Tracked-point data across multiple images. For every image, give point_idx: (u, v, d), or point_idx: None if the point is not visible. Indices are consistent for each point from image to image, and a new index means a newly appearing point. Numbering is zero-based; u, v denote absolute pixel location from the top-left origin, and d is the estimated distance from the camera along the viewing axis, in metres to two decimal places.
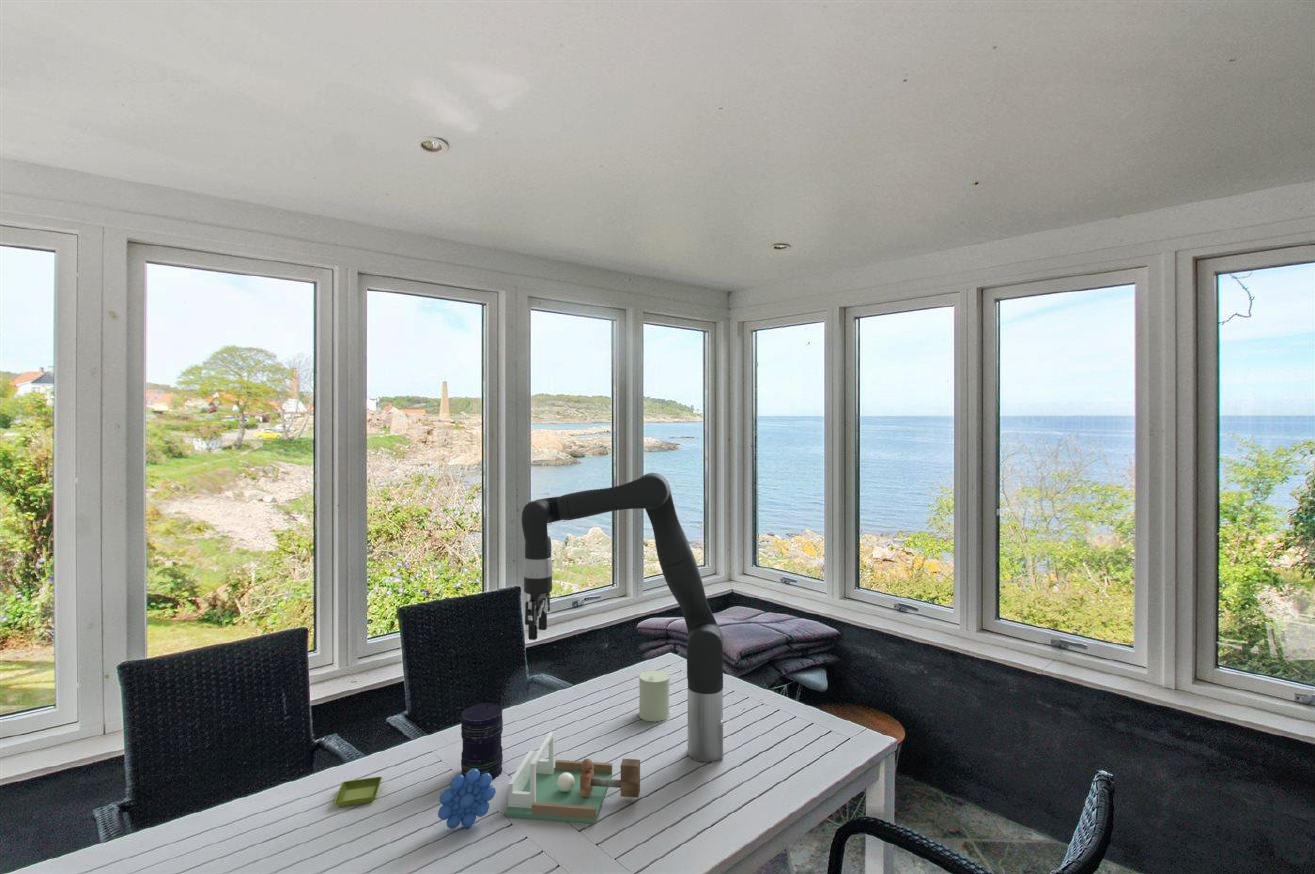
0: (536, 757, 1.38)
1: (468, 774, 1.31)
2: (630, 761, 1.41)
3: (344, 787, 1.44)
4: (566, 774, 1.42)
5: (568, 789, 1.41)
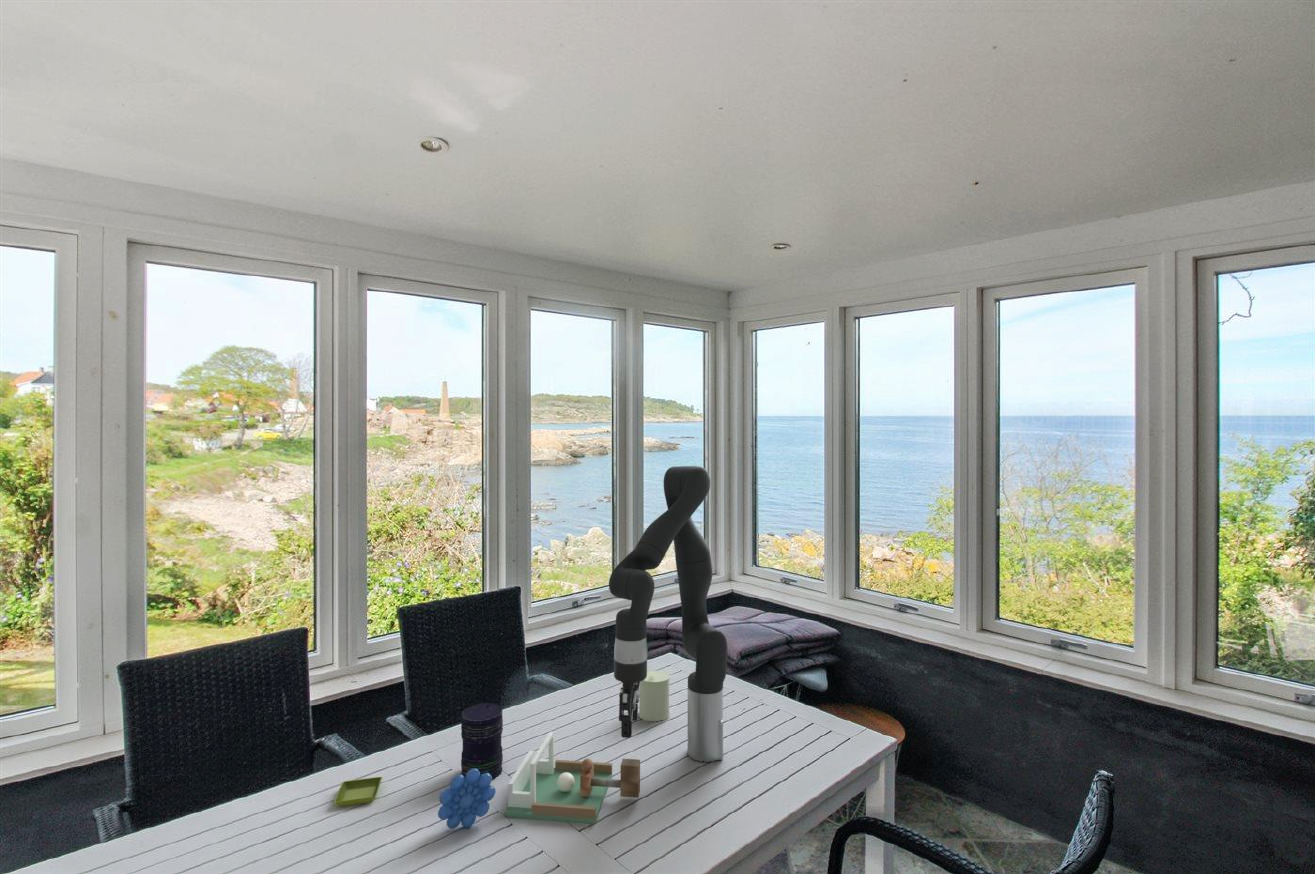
0: (536, 757, 1.38)
1: (468, 774, 1.31)
2: (630, 761, 1.41)
3: (344, 786, 1.44)
4: (566, 774, 1.42)
5: (568, 789, 1.41)
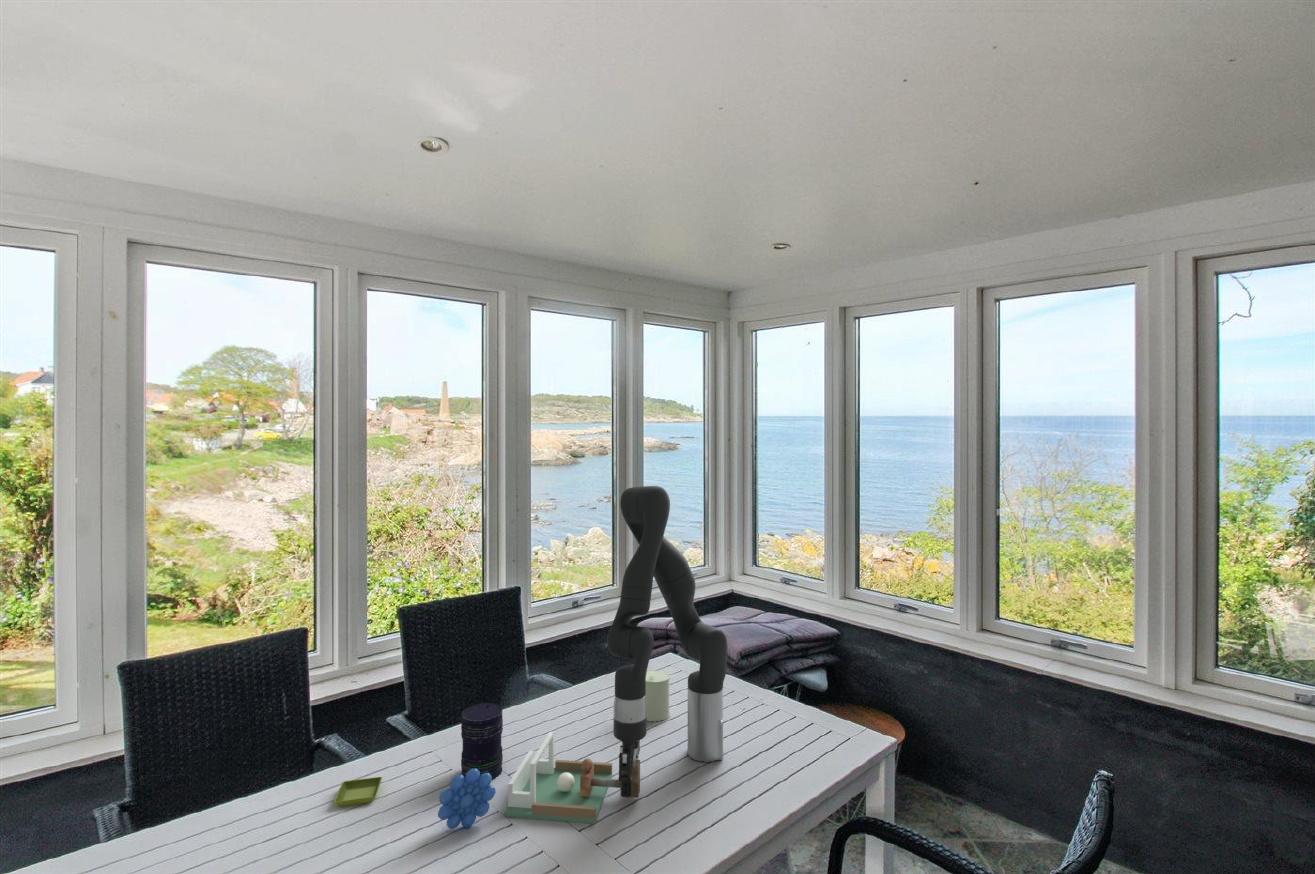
0: (536, 757, 1.38)
1: (468, 774, 1.31)
2: None
3: (344, 786, 1.44)
4: (566, 774, 1.42)
5: (568, 789, 1.41)
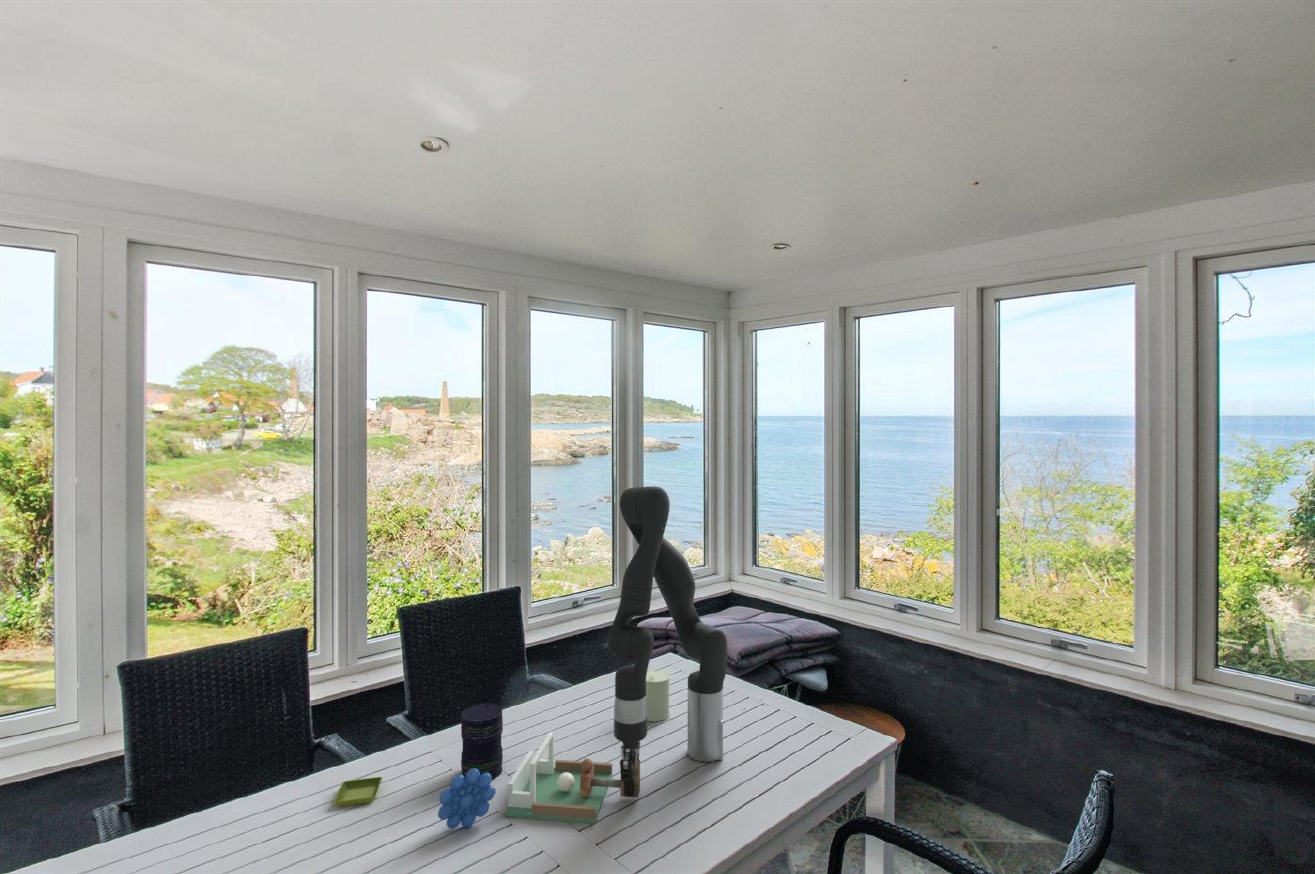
0: (536, 757, 1.38)
1: (468, 774, 1.31)
2: None
3: (344, 786, 1.44)
4: (566, 774, 1.42)
5: (568, 789, 1.41)
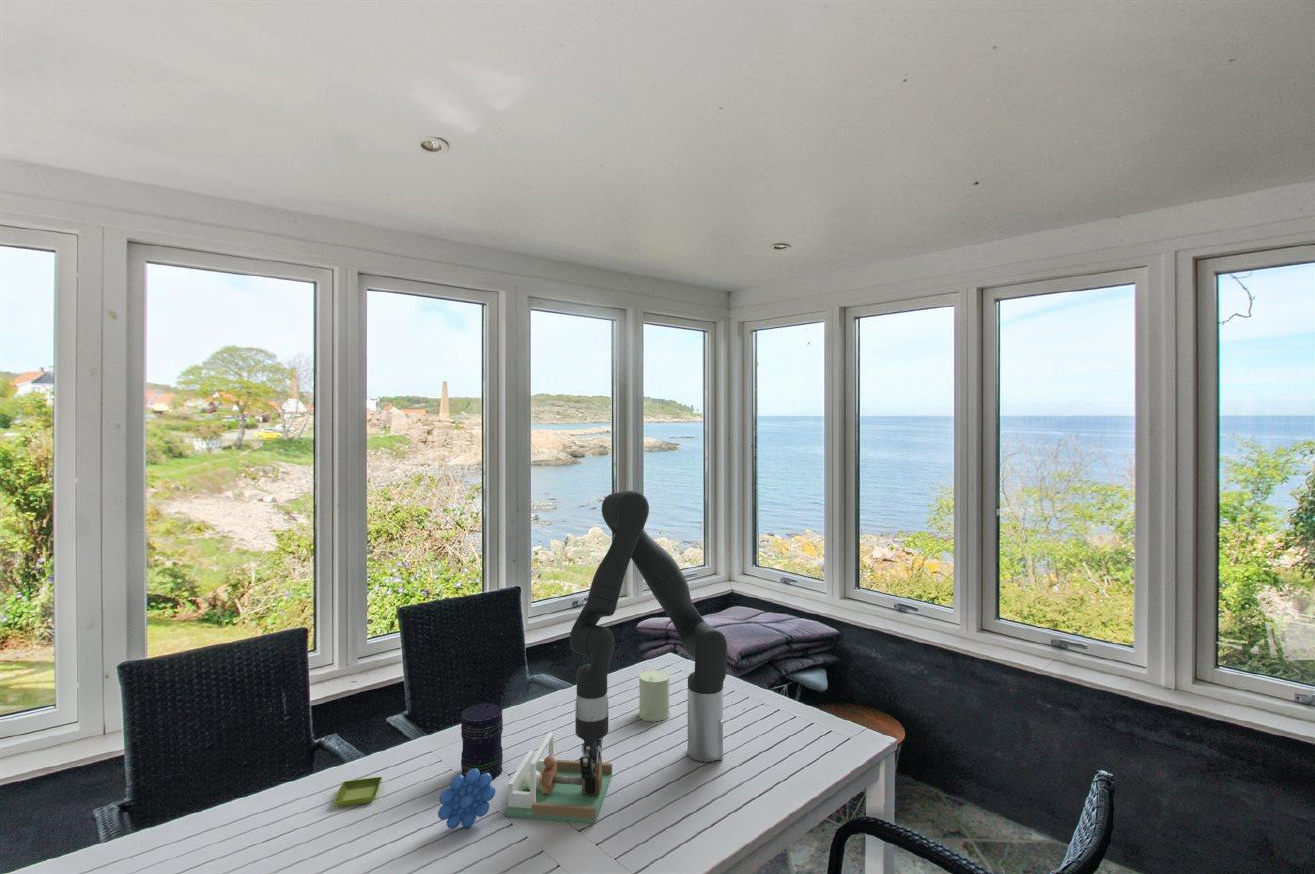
0: (536, 757, 1.38)
1: (468, 774, 1.31)
2: None
3: (344, 786, 1.44)
4: None
5: (526, 781, 1.42)
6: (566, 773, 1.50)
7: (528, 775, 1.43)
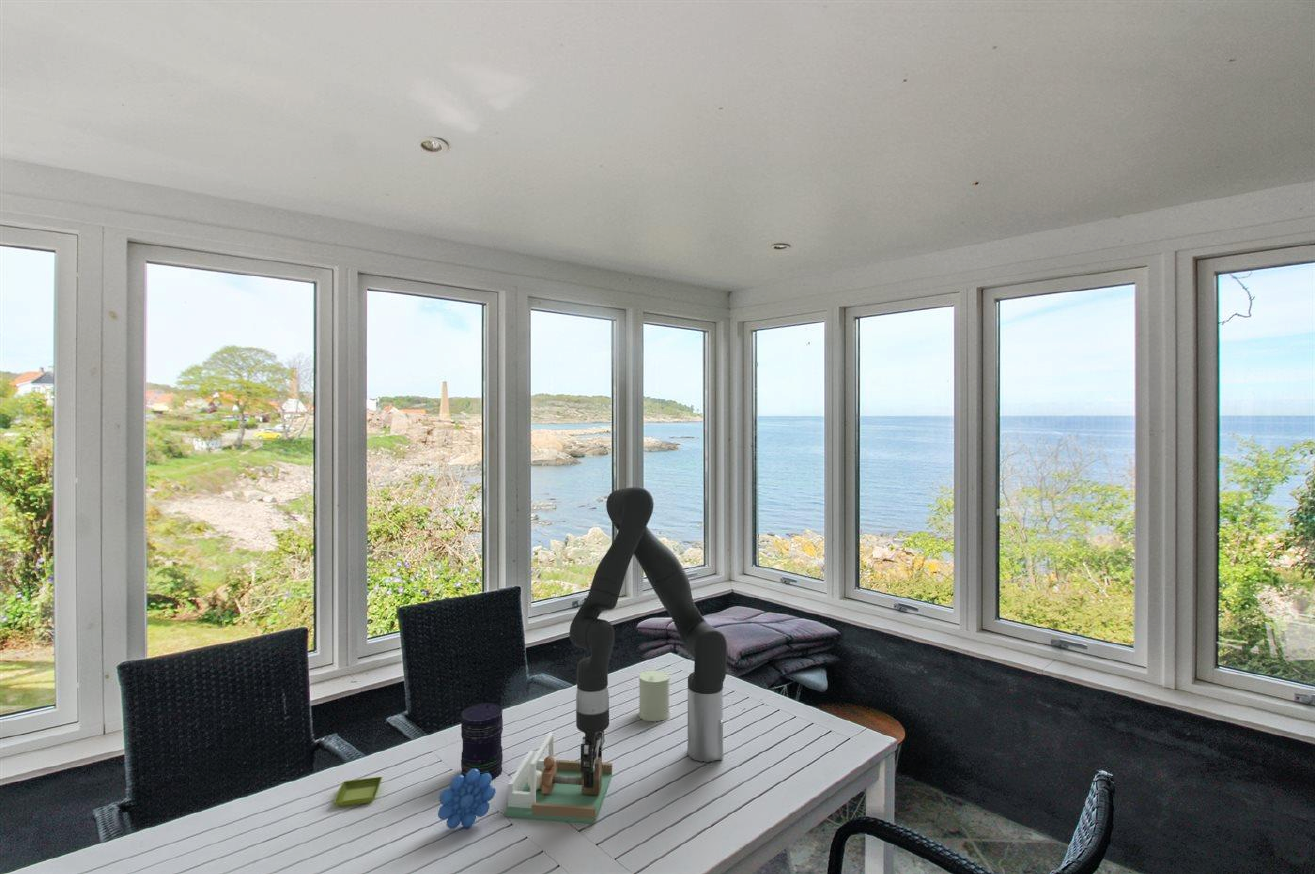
0: (536, 757, 1.38)
1: (468, 774, 1.31)
2: None
3: (344, 786, 1.44)
4: None
5: (529, 780, 1.42)
6: (566, 773, 1.50)
7: None
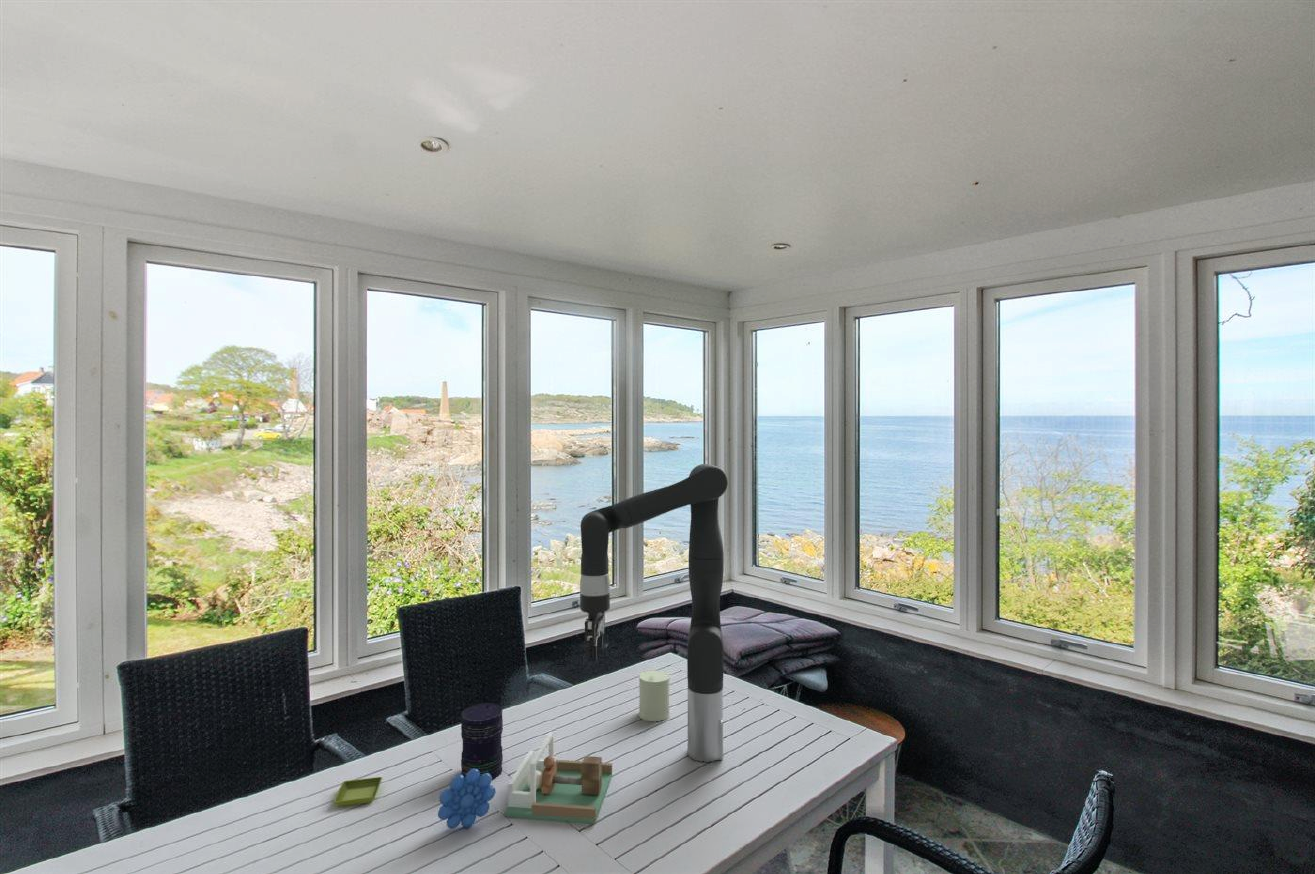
0: (536, 757, 1.38)
1: (468, 774, 1.31)
2: (591, 759, 1.42)
3: (345, 786, 1.44)
4: None
5: (528, 780, 1.42)
6: (566, 773, 1.50)
7: None
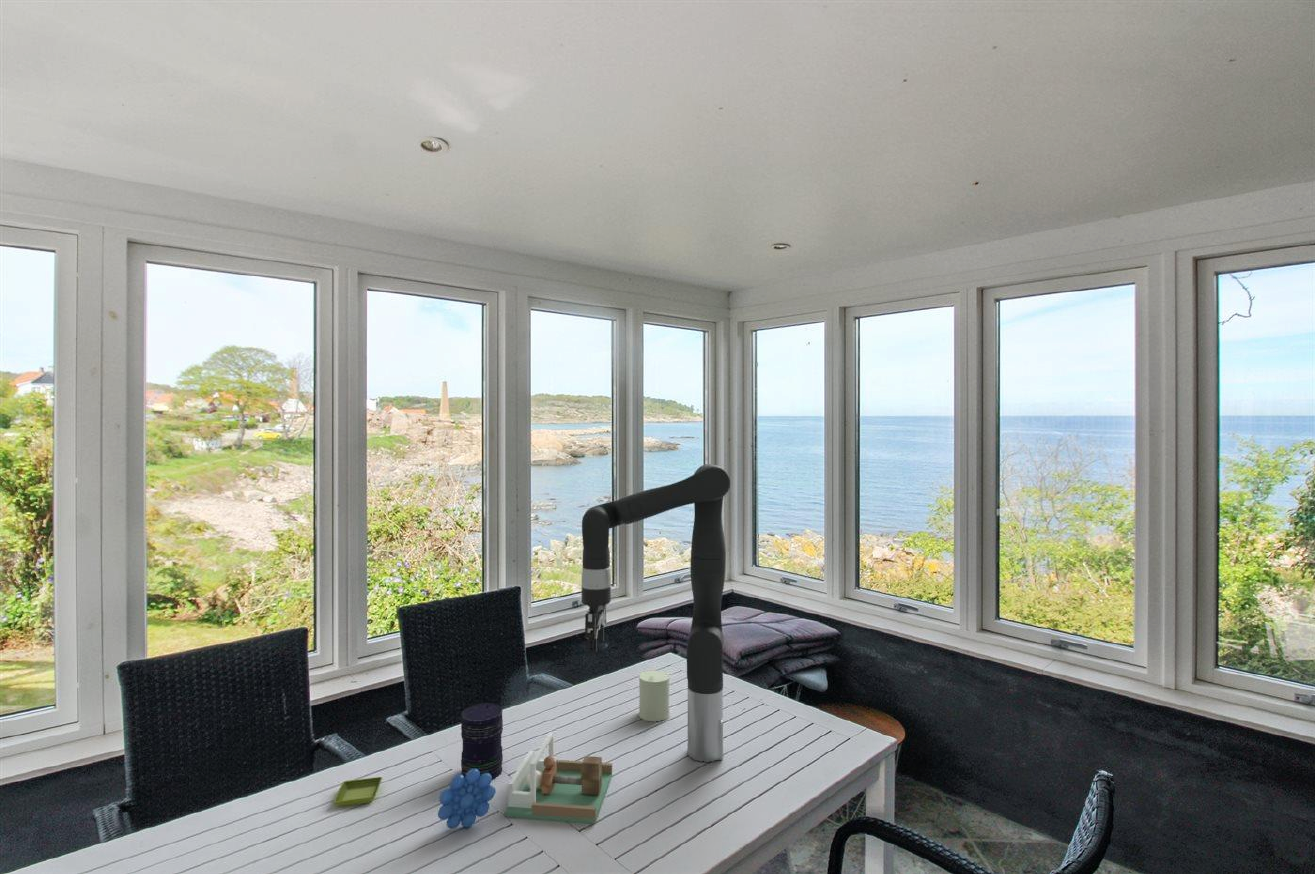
0: (536, 757, 1.38)
1: (468, 774, 1.31)
2: (591, 759, 1.42)
3: (345, 786, 1.45)
4: None
5: (528, 781, 1.42)
6: (566, 773, 1.50)
7: None
